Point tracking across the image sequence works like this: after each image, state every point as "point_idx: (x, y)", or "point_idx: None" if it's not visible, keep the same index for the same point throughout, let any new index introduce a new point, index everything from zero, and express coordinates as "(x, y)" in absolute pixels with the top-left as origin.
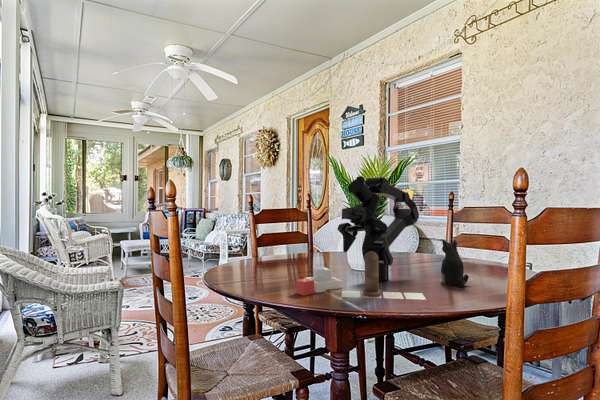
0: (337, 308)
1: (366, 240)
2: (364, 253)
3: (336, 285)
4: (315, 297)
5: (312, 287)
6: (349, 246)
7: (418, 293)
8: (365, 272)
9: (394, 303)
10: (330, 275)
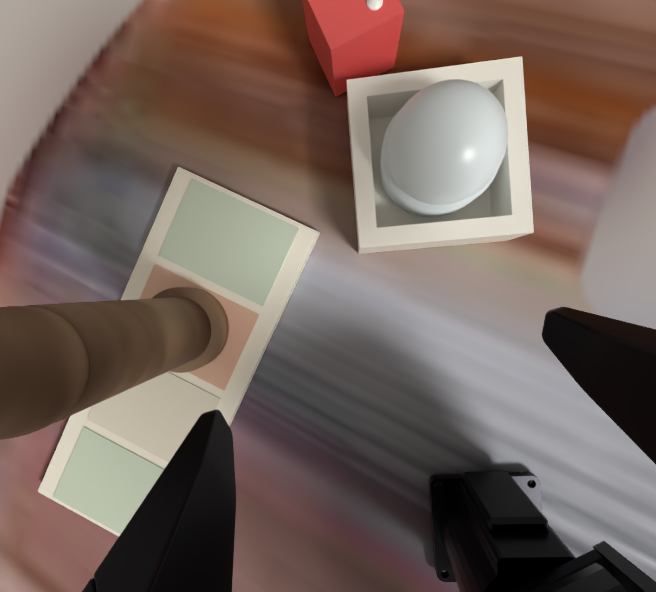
0: (78, 118)
1: (109, 564)
2: (606, 589)
3: (356, 216)
4: (264, 83)
5: (329, 67)
6: (628, 424)
7: None
8: (110, 301)
9: None
10: (400, 179)
